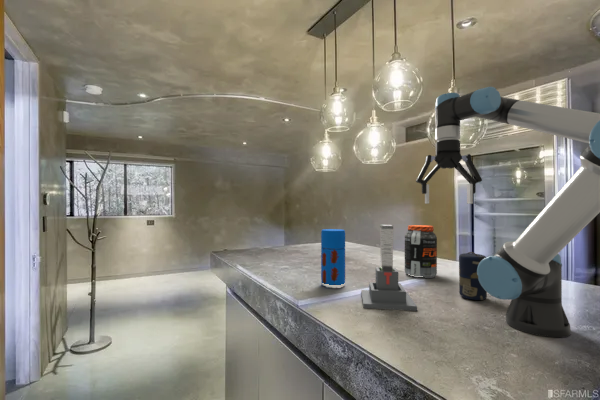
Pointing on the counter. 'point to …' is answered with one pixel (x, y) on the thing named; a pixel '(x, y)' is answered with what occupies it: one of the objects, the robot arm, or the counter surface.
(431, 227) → the supplement tub
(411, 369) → the counter surface
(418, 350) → the counter surface
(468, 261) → the canister
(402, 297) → the base
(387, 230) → the column
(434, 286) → the counter surface
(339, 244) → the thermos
